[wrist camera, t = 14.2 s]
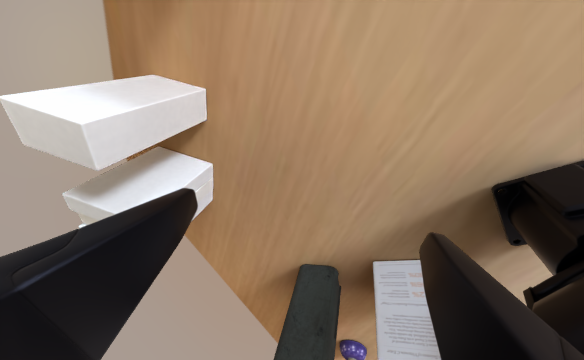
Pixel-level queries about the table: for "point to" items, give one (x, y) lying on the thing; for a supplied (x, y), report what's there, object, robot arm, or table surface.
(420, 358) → the small box
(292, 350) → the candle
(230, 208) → the table surface
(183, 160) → the white books
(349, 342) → the toy lamp
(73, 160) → the white tall block
